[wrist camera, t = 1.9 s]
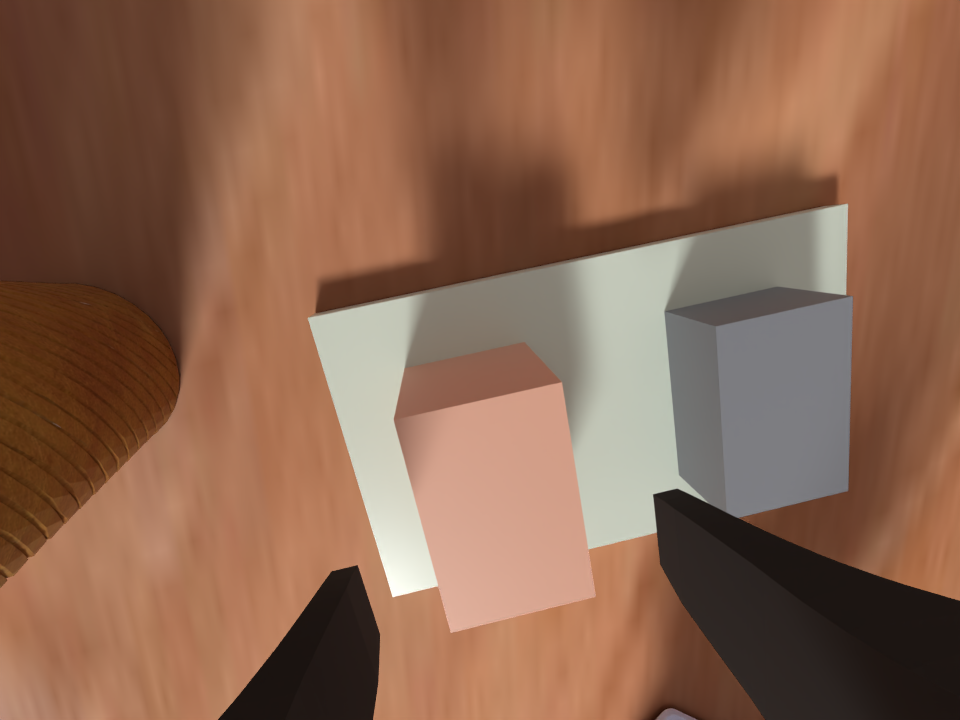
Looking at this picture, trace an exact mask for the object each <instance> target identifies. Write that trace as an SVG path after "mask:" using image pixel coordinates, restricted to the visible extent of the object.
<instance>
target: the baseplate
mask: <svg viewBox="0 0 960 720" xmlns="http://www.w3.org/2000/svg"><path fill="white" fill-rule="evenodd" d="M847 225H848V204H840V205H829V206H822V207H817V208H813V209H808V210H803V211H798V212H794V213H789V214H784V215H779V216H775V217H770V218H765V219H760V220H756V221H751V222H746V223H742V224H737V225H732V226H727V227H723V228H718V229H713V230H708V231H704V232H699V233H694V234H689V235H685V236H680V237H675V238H670V239H666V240H661V241H656V242H652V243H647V244H642V245H637V246H633V247H628V248H623V249H618V250H614V251H609V252H604V253H599V254H595V255H590V256H585V257H581V258H576V259H571V260H566V261H562V262H557V263H552V264H547V265H543V266H538V267H533V268H528V269H524V270H519V271H514V272H509V273H505V274H500V275H495V276H491V277H486V278H481V279H476V280H472V281H467V282H462V283H457V284H453V285H448V286H443V287H438V288H434V289H429V290H424V291H420V292H415V293H410V294H405V295H401V296H396V297H391V298H386V299H382V300H377V301H372V302H367V303H363V304H358V305H353V306H348V307H344V308H339V309H334V310H330V311H325V312H320V313H315V314H313V315H312V316H310V317H309V318H308V320H309V324H310V327H311V330H312V333H313V337H314V340H315V343H316V347H317V350H318V353H319V356H320V360H321V363H322V366H323V370H324V373H325V376H326V379H327V383H328V386H329V389H330V393H331V396H332V399H333V402H334V406H335V409H336V412H337V416H338V419H339V422H340V425H341V429H342V432H343V435H344V439H345V442H346V445H347V448H348V452H349V455H350V458H351V461H352V465H353V468H354V471H355V475H356V478H357V481H358V484H359V488H360V491H361V494H362V498H363V501H364V504H365V507H366V511H367V514H368V517H369V521H370V524H371V527H372V530H373V534H374V537H375V540H376V544H377V547H378V550H379V553H380V557H381V560H382V563H383V567H384V570H385V573H386V576H387V580H388V583H389V586H390V590H391V593H392V596H393V597H395V596H399V595H403V594H407V593H412V592H416V591H420V590H424V589H428V588H432V587H436V586H438V583H437V579H436V576H435V572H434V568H433V565H432V561H431V557H430V553H429V550H428V546H427V542H426V539H425V535H424V531H423V528H422V524H421V520H420V516H419V513H418V509H417V505H416V502H415V498H414V494H413V490H412V487H411V483H410V479H409V476H408V472H407V468H406V464H405V461H404V457H403V453H402V450H401V446H400V442H399V438H398V435H397V431H396V427H395V424H394V415H395V411H396V406H397V401H398V397H399V392H400V387H401V382H402V378H403V373H404V368H408V367H413V366H417V365H422V364H426V363H431V362H436V361H440V360H445V359H449V358H454V357H458V356H463V355H467V354H472V353H477V352H481V351H486V350H490V349H495V348H499V347H504V346H509V345H513V344H518V343H522V342H525V343H526V344H527V345H528V346H529V347H530V348H531V350H532V351H533V352H534V353H535V354H536V355H537V356H538V357H539V358H540V359H541V360H542V361H543V362H544V363H545V364H546V366H547V367H548V368H549V369H550V370H551V371H552V372H553V373H554V374H555V375H556V376H557V377H558V378H559V379H560V381H561V382H562V385H563V392H564V398H565V404H566V411H567V417H568V423H569V430H570V436H571V442H572V449H573V455H574V461H575V468H576V474H577V480H578V487H579V493H580V499H581V506H582V512H583V519H584V525H585V531H586V538H587V544H588V549H592V548H596V547H600V546H604V545H608V544H612V543H616V542H620V541H625V540H629V539H633V538H637V537H641V536H645V535H649V534H653V533H657V528H656V518H655V509H654V499H653V494H656V493H660V492H665V491H669V490H673V489H680V490H682V491H684V492H686V493H688V494H690V495H692V496H694V497H697V498H699V499H701V500H703V501H705V502H707V501H706V500H705V499H704V498H703V497H702V496H701V495H700V494H698V493H697V492H696V491H695V490H694V489H693V488H692V487H691V486H690V485H689V484H688V483H687V482H686V481H685V480H684V479H682V478H681V477H680V476H679V470H678V459H677V448H676V437H675V425H674V414H673V403H672V392H671V381H670V370H669V358H668V347H667V336H666V325H665V314H664V311H668V310H673V309H677V308H682V307H686V306H691V305H696V304H700V303H705V302H709V301H714V300H718V299H723V298H727V297H732V296H737V295H741V294H746V293H750V292H755V291H759V290H764V289H768V288H773V287H785V288H793V289H801V290H809V291H817V292H825V293H832V294H840V295H846V276H847ZM707 503H708V502H707Z"/></svg>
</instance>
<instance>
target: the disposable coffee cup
mask: <svg viewBox="0 0 960 720" xmlns="http://www.w3.org/2000/svg"><path fill="white" fill-rule="evenodd" d="M178 392H179V373H178V368H177V363H176V358H175V356H174V354H173V351H172V349H171V347H170V344H169V342H168V341H167V339H166V337H165V336H164V334H163V333H162V331H161V330H160V329H159V327H158V326H157V325H156V324H155V323H154V322H153V321H152V320H151V319H150V318H149V316H148V315H146V314H145V313H144V312H142V311H141V310H140V309H139V308H137V307H136V306H135V305H134V304H132V303H130V302H129V301H127V300H125V299H123V298H121V297H120V296H118V295H116V294H114V293H111V292H108V291H105V290H102V289H100V288H97V287H92V286H87V285H81V284H59V283H32V282H11V281H0V588H1V587H2V586H3V585H4V584H5V582H6V581H7V579H6V578H8V577H11V576H14V575H15V574H16V573H17V572H18V571H19V569H20V568H21V567H22V566H23V565H24V564H25V563H26V561H27V560H28V559H27V558H28V557H32V556H34V555H35V554H36V553H37V552H38V550H39V549H40V548H41V547H42V546H43V545H44V543H45V542H46V541H47V539H51V538H52V537H53V536H54V535H55V533H56V532H57V531H58V530H59V529H60V528H61V526H62V525H63V524H65V523H66V522H67V521H68V520H69V519H70V518H71V517H72V516H73V515H74V514H75V513H76V511H77V510H78V509H81V507H82V506H83V505H84V504H85V503H86V502H87V501H88V500H89V499H90V497H91V496H92V495H94V494H96V493H97V492H98V490H99V489H100V488H101V487H102V486H103V485H104V483H106V482H107V481H108V480H109V479H110V478H111V477H112V476H113V475H114V473H115V472H117V471H118V470H119V469H120V468H121V467H122V466H123V465H124V464H125V462H127V461H128V460H129V459H130V458H131V457H132V456H133V455H134V454H135V452H137V451H138V450H139V449H140V448H141V447H142V446H143V444H144V443H146V442H147V441H148V440H149V439H150V438H151V437H152V436H153V435H154V434H155V433H157V432H158V431H159V429H160V428H161V427H162V426H163V425H164V424H165V423H166V422H167V420H168V419H169V417H170V415H171V413H172V412H173V410H174V408H175V404H176V400H177V396H178Z"/></svg>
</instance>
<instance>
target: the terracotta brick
mask: <svg viewBox="0 0 960 720" xmlns="http://www.w3.org/2000/svg"><path fill="white" fill-rule="evenodd" d="M394 424H395V427H396V431H397V435H398V438H399V442H400V446H401V450H402V453H403V457H404V461H405V464H406V468H407V472H408V476H409V479H410V483H411V487H412V490H413V494H414V498H415V502H416V505H417V509H418V513H419V516H420V520H421V524H422V528H423V531H424V535H425V539H426V542H427V546H428V550H429V553H430V557H431V561H432V565H433V568H434V572H435V576H436V579H437V583H438V587H439V591H440V594H441V598H442V602H443V605H444V609H445V613H446V617H447V620H448V624H449V628H450V631H451V633H452V632H456V631H460V630H464V629H468V628H472V627H476V626H480V625H484V624H488V623H492V622H496V621H500V620H504V619H508V618H512V617H516V616H520V615H524V614H528V613H533V612H537V611H541V610H545V609H549V608H553V607H557V606H561V605H565V604H569V603H573V602H577V601H581V600H585V599H589V598H593V597H596V595H595V588H594V582H593V576H592V569H591V563H590V557H589V550H588V544H587V538H586V531H585V525H584V519H583V512H582V506H581V499H580V493H579V487H578V480H577V474H576V468H575V461H574V455H573V449H572V442H571V436H570V430H569V423H568V417H567V411H566V404H565V398H564V392H563V385H562V382H561V381H560V379H559V378H558V377H557V376H556V375H555V374H554V373H553V372H552V371H551V370H550V369H549V368H548V367H547V366H546V364H545V363H544V362H543V361H542V360H541V359H540V358H539V357H538V356H537V355H536V354H535V353H534V352H533V351H532V350H531V348H530V347H529V346H528V345H527V344H526V343H525V342H522V343H518V344H513V345H509V346H504V347H499V348H495V349H490V350H486V351H481V352H477V353H472V354H467V355H463V356H458V357H454V358H449V359H445V360H440V361H436V362H431V363H426V364H422V365H417V366H413V367H408V368H404V373H403V378H402V382H401V387H400V392H399V397H398V401H397V406H396V411H395V415H394Z"/></svg>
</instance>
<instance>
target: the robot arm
mask: <svg viewBox="0 0 960 720" xmlns="http://www.w3.org/2000/svg"><path fill="white" fill-rule="evenodd" d="M653 499H654V509H655V518H656V528H657V537H658V547H659V556H660V565H661V566H662V568H663V570H664V572H665V574H666V576H667V577H668V579H669V581H670V583H671V585H672V587H673V588H674V590H675V592H676V593H677V595H678V597H679V599H680V600H681V602H682V604H683V605H684V607H685V608H686V610H687V611H688V612H689V614H690V615H691V617H692V618H693V619H694V621H695V622H696V624H697V625H698V626H699V628H700V629H701V631H702V632H703V633H704V635H705V636H706V638H707V639H708V640H709V642H710V643H711V644H712V646H713V647H714V649H715V650H716V651H717V653H718V654H719V655H720V657H721V658H722V659H723V661H724V662H725V664H726V665H727V666H728V668H729V669H730V670H731V672H732V673H733V675H734V676H735V677H736V679H737V680H738V681H739V683H740V684H741V686H742V687H743V688H744V690H745V691H746V692H747V694H748V695H749V697H750V698H751V699H752V701H753V702H754V704H755V705H756V707H757V708H758V710H759V711H760V712H761V714H762V715H763V717H764V718H765V720H960V601H959V600H955V599H951V598H948V597H945V596H941V595H938V594H934V593H931V592H928V591H924V590H921V589H917V588H914V587H911V586H907V585H904V584H901V583H898V582H895V581H892V580H888V579H885V578H882V577H879V576H876V575H874V574H871V573H868V572H865V571H862V570H860V569H857V568H854V567H851V566H848V565H846V564H843V563H840V562H837V561H835V560H832V559H830V558H827V557H824V556H822V555H819V554H817V553H815V552H812V551H810V550H807V549H805V548H803V547H800V546H798V545H796V544H793V543H791V542H788V541H786V540H784V539H782V538H779V537H777V536H775V535H773V534H770V533H768V532H766V531H764V530H762V529H760V528H758V527H755V526H753V525H751V524H749V523H747V522H745V521H743V520H741V519H739V518H737V517H735V516H733V515H731V514H729V513H727V512H725V511H723V510H721V509H719V508H717V507H715V506H713V505H711V504H709V503H707V502H705V501H703V500H701V499H699V498H697V497H694V496H692V495H690V494H688V493H686V492H684V491H682V490H680V489H673V490H669V491H665V492H660V493H656V494H653ZM379 650H380V633H379V630H378V627H377V624H376V621H375V617H374V614H373V611H372V608H371V605H370V602H369V599H368V596H367V593H366V590H365V587H364V584H363V581H362V577H361V574H360V571H359V568H358V565H357V566H352V567H348V568H344V569H340V570H336V571H332V572H331V573H330V575H329V576H328V577H327V579H326V580H325V581H324V583H323V584H322V585H321V587H320V588H319V590H318V591H317V593H316V594H315V595H314V597H313V598H312V600H311V601H310V602H309V604H308V605H307V607H306V608H305V609H304V611H303V612H302V614H301V615H300V616H299V618H298V619H297V621H296V622H295V623H294V625H293V626H292V627H291V629H290V630H289V632H288V633H287V634H286V636H285V637H284V638H283V640H282V641H281V642H280V644H279V645H278V647H277V648H276V649H275V650H274V652H273V653H272V654H271V656H270V657H269V658H268V659H267V661H266V662H265V663H264V664H263V666H262V667H261V668H260V669H259V671H258V672H257V673H256V674H255V676H254V677H253V678H252V679H251V681H250V682H249V683H248V684H247V686H246V687H245V688H244V689H243V691H242V692H241V693H240V694H239V696H238V697H237V698H236V699H235V700H234V702H233V703H232V704H231V705H230V706H229V707H228V709H227V710H226V711H225V712H224V713H223V714H222V715H221V717H220V718H219V719H218V720H373V715H374V708H375V701H376V694H377V687H378V675H379ZM656 720H697V719H695V718H693V717H691V716H688V715H686V714H684V713H682V712H680V711H678V710H676V709H672V708H669V709H666V710H664V711H663V712H662V713H661V714H660V715H659V716H658V717H657V718H656Z"/></svg>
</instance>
